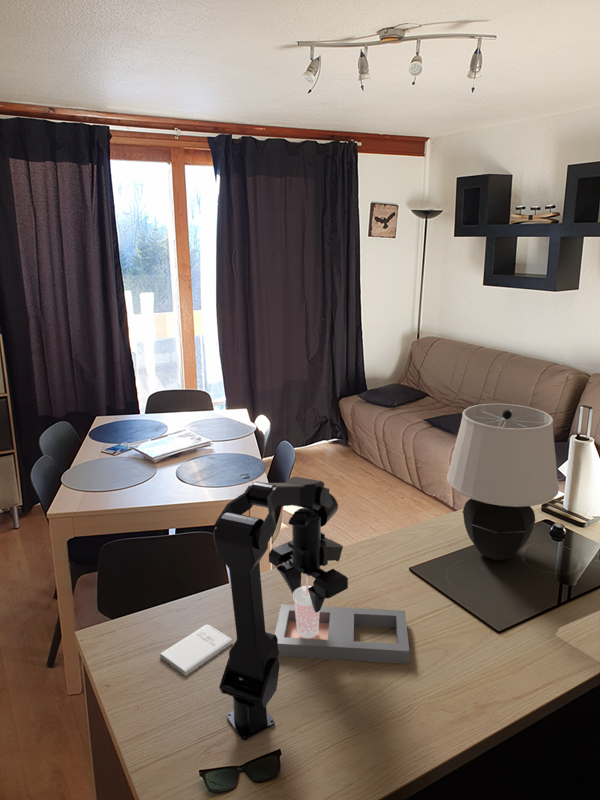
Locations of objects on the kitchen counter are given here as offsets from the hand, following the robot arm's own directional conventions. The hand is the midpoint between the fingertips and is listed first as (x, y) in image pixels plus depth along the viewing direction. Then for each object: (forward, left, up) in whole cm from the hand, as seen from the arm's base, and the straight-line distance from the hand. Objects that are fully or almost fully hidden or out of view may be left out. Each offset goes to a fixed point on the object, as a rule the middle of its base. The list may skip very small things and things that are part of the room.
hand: (307, 604), depth 123 cm
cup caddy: (-4, -6, -8) cm, 11 cm away
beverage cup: (0, 0, -7) cm, 7 cm away
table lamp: (-1, -59, -8) cm, 60 cm away
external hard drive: (+10, +21, -9) cm, 25 cm away
